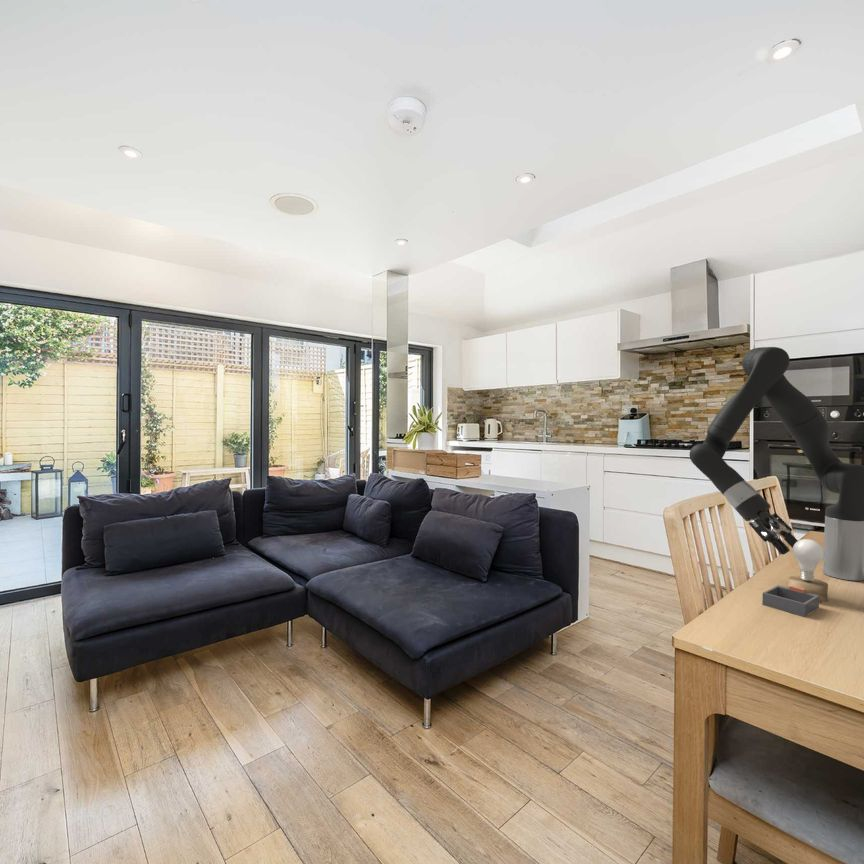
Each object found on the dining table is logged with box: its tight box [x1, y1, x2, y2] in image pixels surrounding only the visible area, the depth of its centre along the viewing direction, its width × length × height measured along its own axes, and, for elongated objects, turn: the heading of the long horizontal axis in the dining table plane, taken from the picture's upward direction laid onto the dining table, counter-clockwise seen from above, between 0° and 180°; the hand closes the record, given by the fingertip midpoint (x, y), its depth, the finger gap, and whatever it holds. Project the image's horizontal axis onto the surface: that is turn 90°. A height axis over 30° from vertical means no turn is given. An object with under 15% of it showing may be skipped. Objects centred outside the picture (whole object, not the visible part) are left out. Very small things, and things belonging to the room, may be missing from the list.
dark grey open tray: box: [761, 584, 820, 618], centre depth 116 cm, size 10×9×4 cm
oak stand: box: [788, 575, 829, 604], centre depth 123 cm, size 8×8×4 cm
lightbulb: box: [792, 538, 824, 582], centre depth 123 cm, size 6×6×11 cm
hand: (792, 550), depth 125 cm, fingers open, 8 cm apart
